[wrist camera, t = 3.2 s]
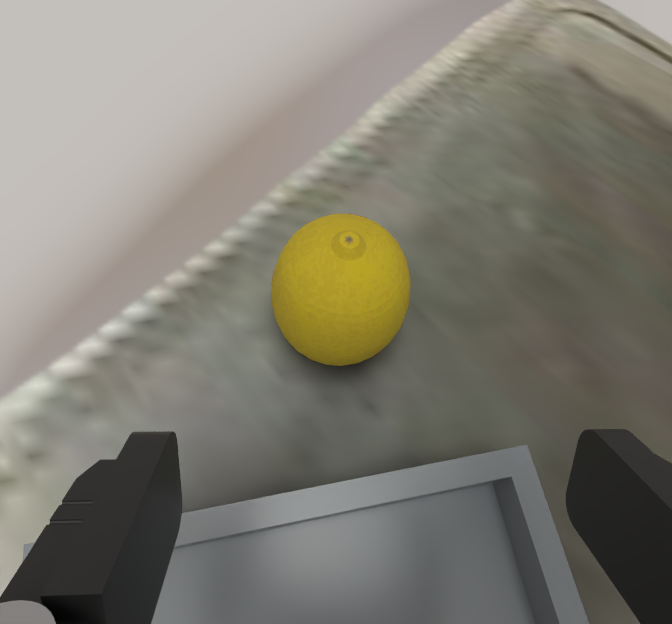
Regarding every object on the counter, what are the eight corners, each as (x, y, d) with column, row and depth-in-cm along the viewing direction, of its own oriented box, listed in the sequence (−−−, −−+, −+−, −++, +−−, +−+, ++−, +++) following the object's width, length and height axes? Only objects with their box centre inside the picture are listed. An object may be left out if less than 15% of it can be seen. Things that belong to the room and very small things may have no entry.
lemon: (274, 282, 25) (265, 173, 18) (384, 280, 25) (419, 173, 18) (275, 391, 22) (266, 317, 15) (397, 386, 23) (444, 311, 16)
